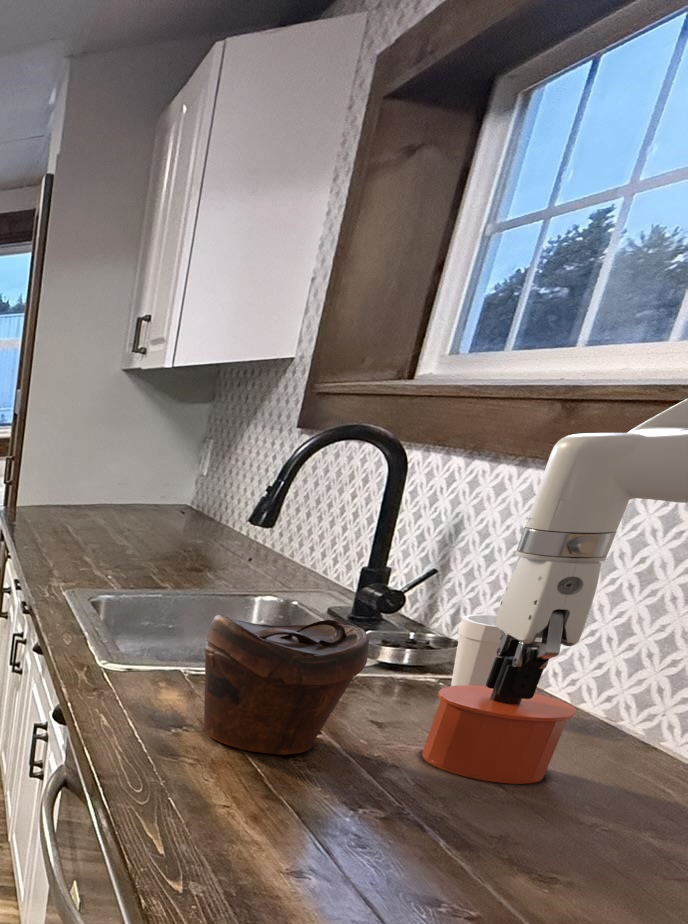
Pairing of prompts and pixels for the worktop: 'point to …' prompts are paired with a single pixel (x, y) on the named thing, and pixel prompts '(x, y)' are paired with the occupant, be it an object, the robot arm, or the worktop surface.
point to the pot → (491, 745)
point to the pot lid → (506, 702)
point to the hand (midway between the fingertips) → (508, 691)
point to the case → (277, 681)
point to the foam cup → (476, 649)
